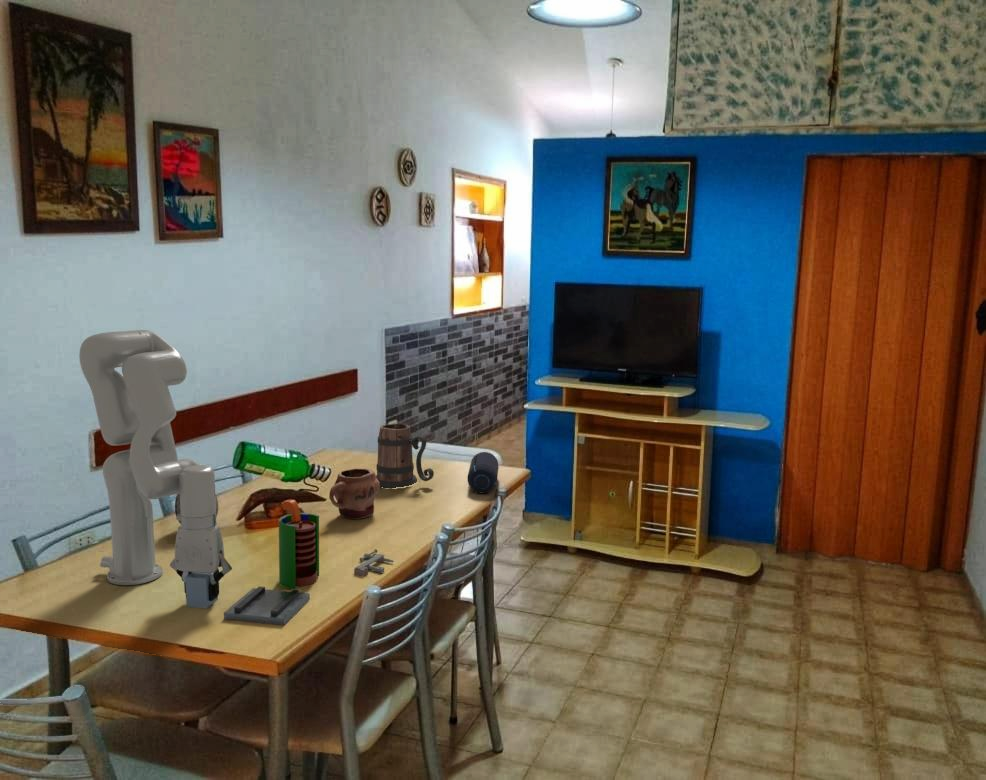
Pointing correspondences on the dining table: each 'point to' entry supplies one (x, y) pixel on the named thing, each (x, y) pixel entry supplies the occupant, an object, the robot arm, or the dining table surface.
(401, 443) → the tankard
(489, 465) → the portable speaker
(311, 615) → the dining table surface
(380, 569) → the clamp
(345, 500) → the clay mug
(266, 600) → the mounting bracket
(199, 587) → the slate grey block
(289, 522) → the motor
